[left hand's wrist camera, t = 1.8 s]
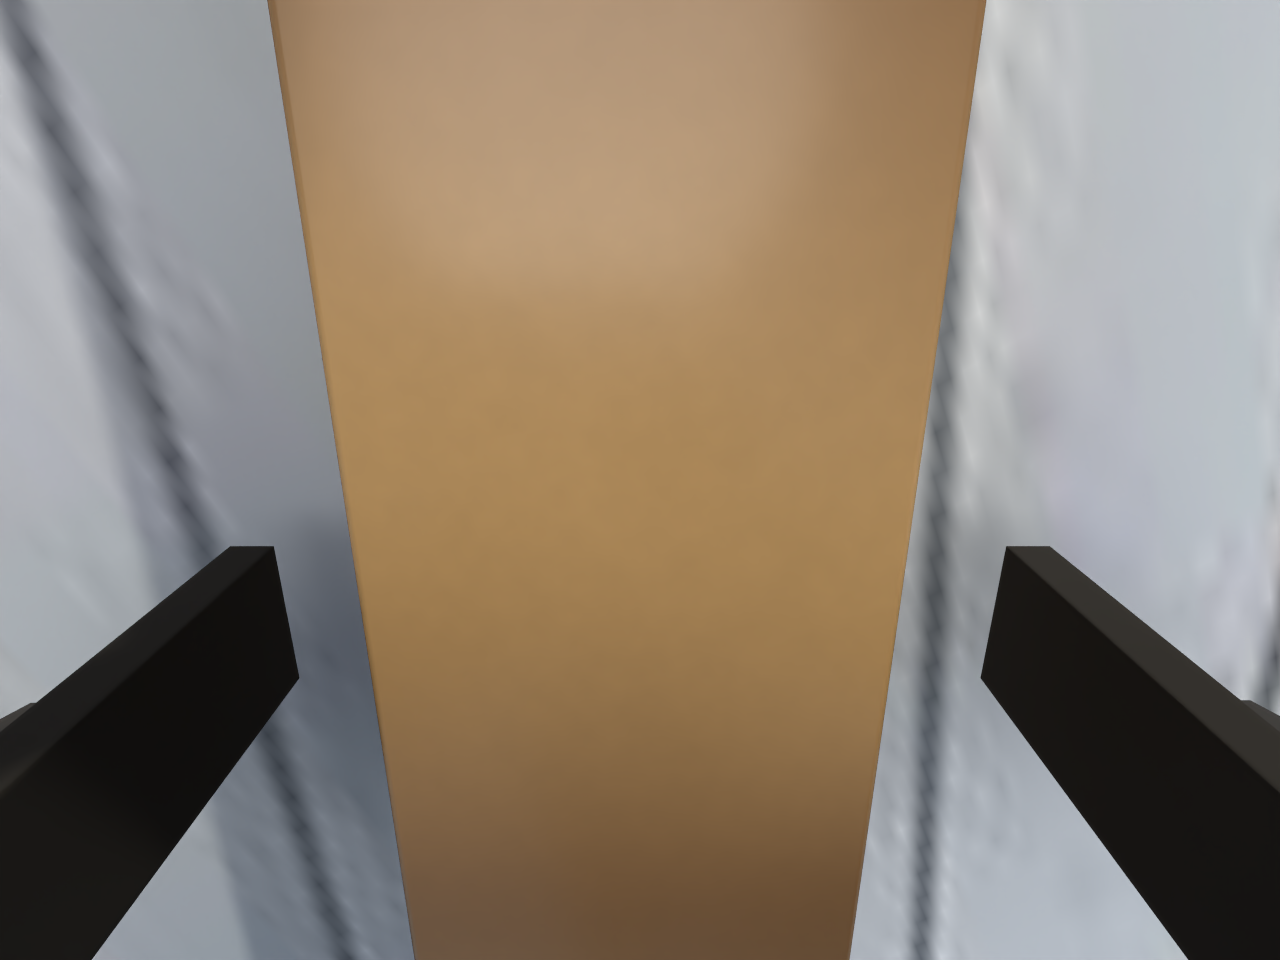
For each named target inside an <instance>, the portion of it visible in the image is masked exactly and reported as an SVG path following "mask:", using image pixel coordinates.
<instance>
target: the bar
mask: <svg viewBox="0 0 1280 960" xmlns="http://www.w3.org/2000/svg"><path fill="white" fill-rule="evenodd" d="M267 1H268V8H269V14H270V21H271V27H272V34H273V40H274V47H275V53H276V60H277V66H278V73H279V79H280V86H281V92H282V99H283V105H284V112H285V118H286V125H287V131H288V138H289V144H290V151H291V157H292V164H293V170H294V177H295V183H296V190H297V196H298V203H299V209H300V216H301V222H302V229H303V235H304V242H305V248H306V255H307V261H308V268H309V274H310V281H311V287H312V294H313V300H314V307H315V313H316V320H317V326H318V333H319V339H320V346H321V352H322V359H323V365H324V372H325V378H326V385H327V391H328V398H329V404H330V411H331V417H332V424H333V431H334V437H335V444H336V450H337V457H338V463H339V470H340V476H341V483H342V489H343V496H344V502H345V509H346V515H347V522H348V528H349V535H350V541H351V548H352V554H353V561H354V567H355V574H356V580H357V587H358V593H359V600H360V606H361V613H362V619H363V626H364V632H365V639H366V645H367V652H368V658H369V665H370V671H371V678H372V684H373V691H374V697H375V704H376V710H377V717H378V723H379V730H380V736H381V743H382V749H383V756H384V762H385V769H386V775H387V782H388V788H389V795H390V801H391V808H392V814H393V821H394V827H395V834H396V840H397V847H398V853H399V860H400V867H401V873H402V880H403V886H404V893H405V899H406V906H407V912H408V919H409V925H410V932H411V938H412V945H413V951H414V958H415V960H849V959H850V952H851V945H852V938H853V931H854V924H855V917H856V910H857V903H858V896H859V889H860V882H861V875H862V868H863V861H864V854H865V847H866V840H867V833H868V826H869V819H870V812H871V805H872V798H873V790H874V783H875V776H876V769H877V762H878V755H879V748H880V741H881V734H882V727H883V720H884V713H885V706H886V699H887V692H888V685H889V678H890V671H891V664H892V657H893V650H894V643H895V636H896V629H897V622H898V615H899V608H900V601H901V594H902V587H903V580H904V573H905V566H906V559H907V552H908V545H909V538H910V531H911V524H912V517H913V510H914V503H915V496H916V489H917V482H918V475H919V468H920V461H921V454H922V447H923V440H924V433H925V426H926V419H927V412H928V405H929V398H930V391H931V384H932V377H933V370H934V363H935V356H936V349H937V342H938V335H939V328H940V321H941V314H942V307H943V300H944V293H945V286H946V279H947V272H948V265H949V258H950V251H951V244H952V237H953V230H954V223H955V216H956V209H957V202H958V195H959V188H960V181H961V174H962V167H963V160H964V153H965V146H966V139H967V132H968V125H969V118H970V111H971V104H972V97H973V90H974V83H975V76H976V69H977V62H978V55H979V48H980V41H981V34H982V27H983V20H984V13H985V6H986V0H267Z"/></svg>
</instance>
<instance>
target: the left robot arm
mask: <svg viewBox="0 0 1280 960" xmlns="http://www.w3.org/2000/svg"><path fill="white" fill-rule="evenodd" d="M298 679H299V674H298V669H297V664H296V659H295V653H294V648H293V643H292V638H291V633H290V628H289V623H288V617H287V612H286V607H285V602H284V597H283V592H282V587H281V582H280V576H279V571H278V566H277V561H276V556H275V551H274V546H230V547H229V548H228V549H226V550H225V551H224V552H223V553H221V554H220V555H219V556H218V557H216V558H215V559H214V560H213V561H211V562H210V563H209V564H208V565H207V566H205V567H204V568H203V569H202V570H200V571H199V572H198V573H197V574H195V575H194V576H193V577H192V578H190V579H189V580H188V581H187V582H185V583H184V584H183V585H182V586H180V587H179V588H178V589H177V590H176V591H174V592H173V593H172V594H171V595H169V596H168V597H167V598H166V599H164V600H163V601H162V602H161V603H159V604H158V605H157V606H156V607H154V608H153V609H152V610H151V611H149V612H148V613H147V614H146V615H145V616H143V617H142V618H141V619H140V620H138V621H137V622H136V623H135V624H133V625H132V626H131V627H130V628H128V629H127V630H126V631H125V632H123V633H122V634H121V635H120V636H118V637H117V638H116V639H115V640H114V641H112V642H111V643H110V644H109V645H107V646H106V647H105V648H104V649H102V650H101V651H100V652H99V653H97V654H96V655H95V656H94V657H92V658H91V659H90V660H89V661H87V662H86V663H85V664H84V665H83V666H81V667H80V668H79V669H78V670H76V671H75V672H74V673H73V674H71V675H70V676H69V677H68V678H66V679H65V680H64V681H63V682H61V683H60V684H59V685H58V686H56V687H55V688H54V689H53V690H52V691H50V692H49V693H48V694H47V695H45V696H44V697H43V698H42V699H40V700H39V701H38V702H37V703H30V704H28V705H26V706H24V707H22V708H20V709H18V710H17V711H15V712H13V713H11V714H9V715H7V716H5V717H3V718H1V719H0V960H92V959H93V957H94V956H95V954H96V953H97V952H98V950H99V949H100V948H101V946H102V945H103V944H104V942H105V941H106V940H107V938H108V937H109V935H110V934H111V933H112V931H113V930H114V929H115V927H116V926H117V925H118V923H119V922H120V921H121V919H122V918H123V916H124V915H125V914H126V912H127V911H128V910H129V908H130V907H131V906H132V904H133V903H134V902H135V900H136V899H137V897H138V896H139V895H140V893H141V892H142V891H143V889H144V888H145V887H146V885H147V884H148V883H149V881H150V880H151V878H152V877H153V876H154V874H155V873H156V872H157V870H158V869H159V868H160V866H161V865H162V864H163V862H164V861H165V860H166V858H167V857H168V855H169V854H170V853H171V851H172V850H173V849H174V847H175V846H176V845H177V843H178V842H179V841H180V839H181V838H182V836H183V835H184V834H185V832H186V831H187V830H188V828H189V827H190V826H191V824H192V823H193V822H194V820H195V819H196V817H197V816H198V815H199V813H200V812H201V811H202V809H203V808H204V807H205V805H206V804H207V803H208V801H209V800H210V798H211V797H212V796H213V794H214V793H215V792H216V790H217V789H218V788H219V786H220V785H221V784H222V782H223V781H224V779H225V778H226V777H227V775H228V774H229V773H230V771H231V770H232V769H233V767H234V766H235V765H236V763H237V762H238V760H239V759H240V758H241V756H242V755H243V754H244V752H245V751H246V750H247V748H248V747H249V746H250V744H251V743H252V742H253V740H254V739H255V737H256V736H257V735H258V733H259V732H260V731H261V729H262V728H263V727H264V725H265V724H266V723H267V721H268V720H269V718H270V717H271V716H272V714H273V713H274V712H275V710H276V709H277V708H278V706H279V705H280V704H281V702H282V701H283V699H284V698H285V697H286V695H287V694H288V693H289V691H290V690H291V689H292V687H293V686H294V685H295V683H296V682H297V680H298ZM981 679H982V681H983V682H984V683H985V685H986V686H987V687H988V689H989V690H990V691H991V693H992V694H993V695H994V697H995V698H996V700H997V701H998V702H999V704H1000V705H1001V706H1002V708H1003V709H1004V710H1005V712H1006V713H1007V714H1008V716H1009V717H1010V718H1011V720H1012V721H1013V723H1014V724H1015V725H1016V727H1017V728H1018V729H1019V731H1020V732H1021V733H1022V735H1023V736H1024V737H1025V739H1026V740H1027V742H1028V743H1029V744H1030V746H1031V747H1032V748H1033V750H1034V751H1035V752H1036V754H1037V755H1038V756H1039V758H1040V759H1041V761H1042V762H1043V763H1044V765H1045V766H1046V767H1047V769H1048V770H1049V771H1050V773H1051V774H1052V775H1053V777H1054V778H1055V780H1056V781H1057V782H1058V784H1059V785H1060V786H1061V788H1062V789H1063V790H1064V792H1065V793H1066V794H1067V796H1068V797H1069V799H1070V800H1071V801H1072V803H1073V804H1074V805H1075V807H1076V808H1077V809H1078V811H1079V812H1080V813H1081V815H1082V816H1083V818H1084V819H1085V820H1086V822H1087V823H1088V824H1089V826H1090V827H1091V828H1092V830H1093V831H1094V832H1095V834H1096V835H1097V836H1098V838H1099V839H1100V841H1101V842H1102V843H1103V845H1104V846H1105V847H1106V849H1107V850H1108V851H1109V853H1110V854H1111V855H1112V857H1113V858H1114V860H1115V861H1116V862H1117V864H1118V865H1119V866H1120V868H1121V869H1122V870H1123V872H1124V873H1125V874H1126V876H1127V877H1128V879H1129V880H1130V881H1131V883H1132V884H1133V885H1134V887H1135V888H1136V889H1137V891H1138V892H1139V893H1140V895H1141V896H1142V898H1143V899H1144V900H1145V902H1146V903H1147V904H1148V906H1149V907H1150V908H1151V910H1152V911H1153V912H1154V914H1155V915H1156V917H1157V918H1158V919H1159V921H1160V922H1161V923H1162V925H1163V926H1164V927H1165V929H1166V930H1167V931H1168V933H1169V934H1170V936H1171V937H1172V938H1173V940H1174V941H1175V942H1176V944H1177V945H1178V946H1179V948H1180V949H1181V950H1182V952H1183V953H1184V954H1185V956H1186V957H1187V959H1188V960H1280V716H1279V715H1277V714H1275V713H1273V712H1271V711H1269V710H1267V709H1265V708H1264V707H1262V706H1260V705H1258V704H1256V703H1254V702H1252V701H1250V700H1240V699H1238V698H1237V697H1236V696H1235V695H1233V694H1232V693H1231V692H1230V691H1228V690H1227V689H1226V688H1225V687H1223V686H1222V685H1221V684H1220V683H1219V682H1217V681H1216V680H1215V679H1214V678H1212V677H1211V676H1210V675H1209V674H1207V673H1206V672H1205V671H1204V670H1202V669H1201V668H1200V667H1199V666H1197V665H1196V664H1195V663H1194V662H1192V661H1191V660H1190V659H1189V658H1188V657H1186V656H1185V655H1184V654H1183V653H1181V652H1180V651H1179V650H1178V649H1176V648H1175V647H1174V646H1173V645H1171V644H1170V643H1169V642H1168V641H1166V640H1165V639H1164V638H1163V637H1161V636H1160V635H1159V634H1158V633H1157V632H1155V631H1154V630H1153V629H1152V628H1150V627H1149V626H1148V625H1147V624H1145V623H1144V622H1143V621H1142V620H1140V619H1139V618H1138V617H1137V616H1135V615H1134V614H1133V613H1132V612H1130V611H1129V610H1128V609H1127V608H1126V607H1124V606H1123V605H1122V604H1121V603H1119V602H1118V601H1117V600H1116V599H1114V598H1113V597H1112V596H1111V595H1109V594H1108V593H1107V592H1106V591H1104V590H1103V589H1102V588H1101V587H1099V586H1098V585H1097V584H1096V583H1095V582H1093V581H1092V580H1091V579H1090V578H1088V577H1087V576H1086V575H1085V574H1083V573H1082V572H1081V571H1080V570H1078V569H1077V568H1076V567H1075V566H1073V565H1072V564H1071V563H1070V562H1068V561H1067V560H1066V559H1065V558H1064V557H1062V556H1061V555H1060V554H1059V553H1057V552H1056V551H1055V550H1054V549H1052V548H1051V547H1050V546H1006V551H1005V556H1004V561H1003V566H1002V571H1001V576H1000V581H999V586H998V592H997V597H996V602H995V607H994V612H993V617H992V622H991V628H990V633H989V638H988V643H987V648H986V653H985V658H984V663H983V669H982V674H981Z"/></svg>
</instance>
